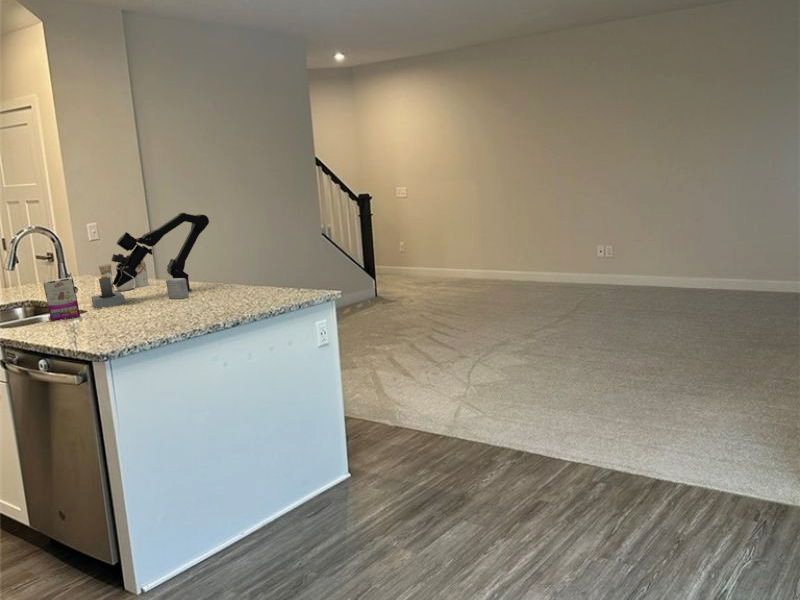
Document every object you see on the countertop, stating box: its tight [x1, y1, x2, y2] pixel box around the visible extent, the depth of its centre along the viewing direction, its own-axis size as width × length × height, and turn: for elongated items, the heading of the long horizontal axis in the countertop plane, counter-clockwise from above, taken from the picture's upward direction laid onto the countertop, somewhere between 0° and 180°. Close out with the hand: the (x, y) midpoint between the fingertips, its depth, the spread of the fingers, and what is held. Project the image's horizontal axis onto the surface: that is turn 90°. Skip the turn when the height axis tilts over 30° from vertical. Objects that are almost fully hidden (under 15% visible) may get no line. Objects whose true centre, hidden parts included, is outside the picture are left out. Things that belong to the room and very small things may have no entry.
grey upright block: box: [98, 274, 113, 298], centre depth 308 cm, size 5×5×14 cm
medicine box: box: [165, 277, 189, 300], centre depth 310 cm, size 8×4×9 cm, turn 65°
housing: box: [90, 291, 126, 309], centre depth 309 cm, size 12×12×4 cm
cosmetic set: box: [98, 259, 150, 293], centre depth 345 cm, size 25×9×19 cm, turn 145°
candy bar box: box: [42, 276, 81, 322], centre depth 285 cm, size 11×5×16 cm, turn 117°
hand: (115, 285), depth 309 cm, fingers open, 9 cm apart
